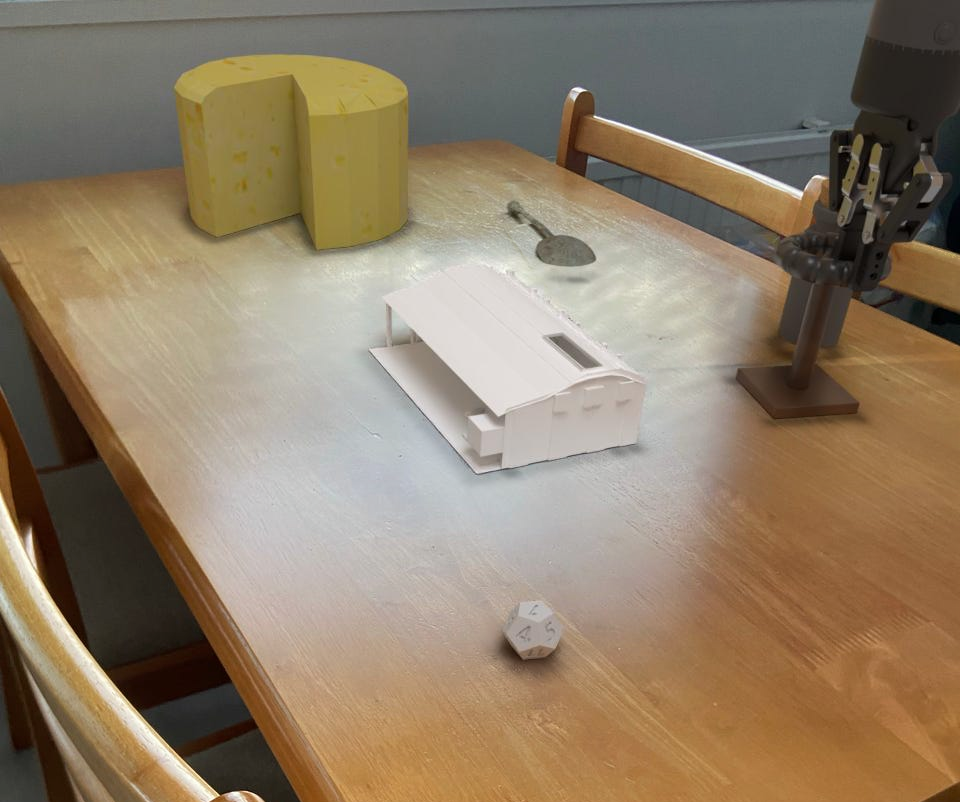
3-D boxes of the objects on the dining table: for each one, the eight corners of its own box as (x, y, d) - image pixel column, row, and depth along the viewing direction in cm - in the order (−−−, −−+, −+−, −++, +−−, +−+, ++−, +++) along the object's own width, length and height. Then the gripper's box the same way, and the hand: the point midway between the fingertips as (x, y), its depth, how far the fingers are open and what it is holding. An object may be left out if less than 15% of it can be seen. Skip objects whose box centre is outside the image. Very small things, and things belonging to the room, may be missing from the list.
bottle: (764, 335, 101) (803, 176, 91) (814, 330, 102) (857, 174, 93) (795, 360, 97) (839, 196, 87) (847, 354, 98) (896, 193, 88)
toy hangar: (365, 346, 94) (363, 272, 90) (505, 326, 99) (510, 255, 95) (478, 477, 77) (483, 393, 73) (640, 444, 82) (654, 364, 78)
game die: (568, 640, 63) (573, 602, 61) (545, 675, 60) (550, 637, 58) (516, 623, 64) (519, 585, 62) (491, 657, 61) (494, 618, 59)
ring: (854, 251, 88) (860, 227, 86) (909, 288, 81) (916, 263, 79) (755, 254, 86) (760, 229, 85) (803, 292, 79) (809, 267, 78)
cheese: (243, 264, 109) (227, 110, 99) (159, 195, 125) (138, 58, 115) (448, 230, 120) (452, 90, 111) (347, 171, 137) (342, 45, 127)
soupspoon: (546, 284, 110) (601, 284, 112) (551, 254, 108) (607, 253, 110) (488, 213, 126) (537, 213, 127) (491, 184, 123) (541, 185, 125)
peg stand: (814, 373, 94) (847, 254, 87) (856, 413, 89) (896, 289, 82) (735, 378, 93) (763, 257, 86) (774, 419, 87) (806, 293, 80)
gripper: (1033, 55, 65) (941, 315, 76) (916, 17, 75) (850, 251, 87) (931, 54, 64) (853, 319, 75) (826, 15, 74) (770, 254, 85)
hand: (851, 282), depth 81 cm, fingers closed on ring, 2 cm apart
